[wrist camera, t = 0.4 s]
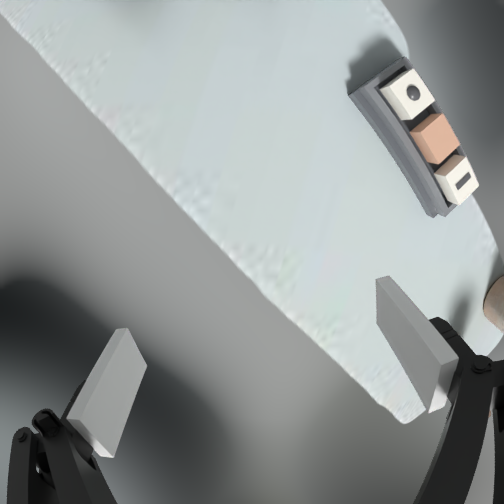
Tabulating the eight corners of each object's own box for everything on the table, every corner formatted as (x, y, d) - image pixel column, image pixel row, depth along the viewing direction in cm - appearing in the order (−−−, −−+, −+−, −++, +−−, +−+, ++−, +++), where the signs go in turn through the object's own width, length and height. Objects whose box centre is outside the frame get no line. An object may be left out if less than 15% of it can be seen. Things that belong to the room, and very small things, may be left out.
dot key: (379, 89, 32) (389, 85, 29) (403, 72, 31) (414, 67, 28) (401, 120, 34) (412, 119, 31) (423, 102, 33) (436, 100, 30)
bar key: (433, 173, 36) (446, 176, 33) (454, 154, 35) (466, 156, 32) (447, 200, 37) (460, 205, 34) (467, 181, 36) (479, 185, 33)
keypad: (348, 95, 36) (357, 91, 32) (398, 59, 34) (410, 53, 30) (427, 214, 42) (440, 221, 38) (468, 175, 39) (482, 179, 36)
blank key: (409, 132, 34) (420, 132, 31) (431, 113, 33) (442, 113, 30) (427, 162, 36) (438, 164, 33) (448, 143, 34) (460, 144, 32)
